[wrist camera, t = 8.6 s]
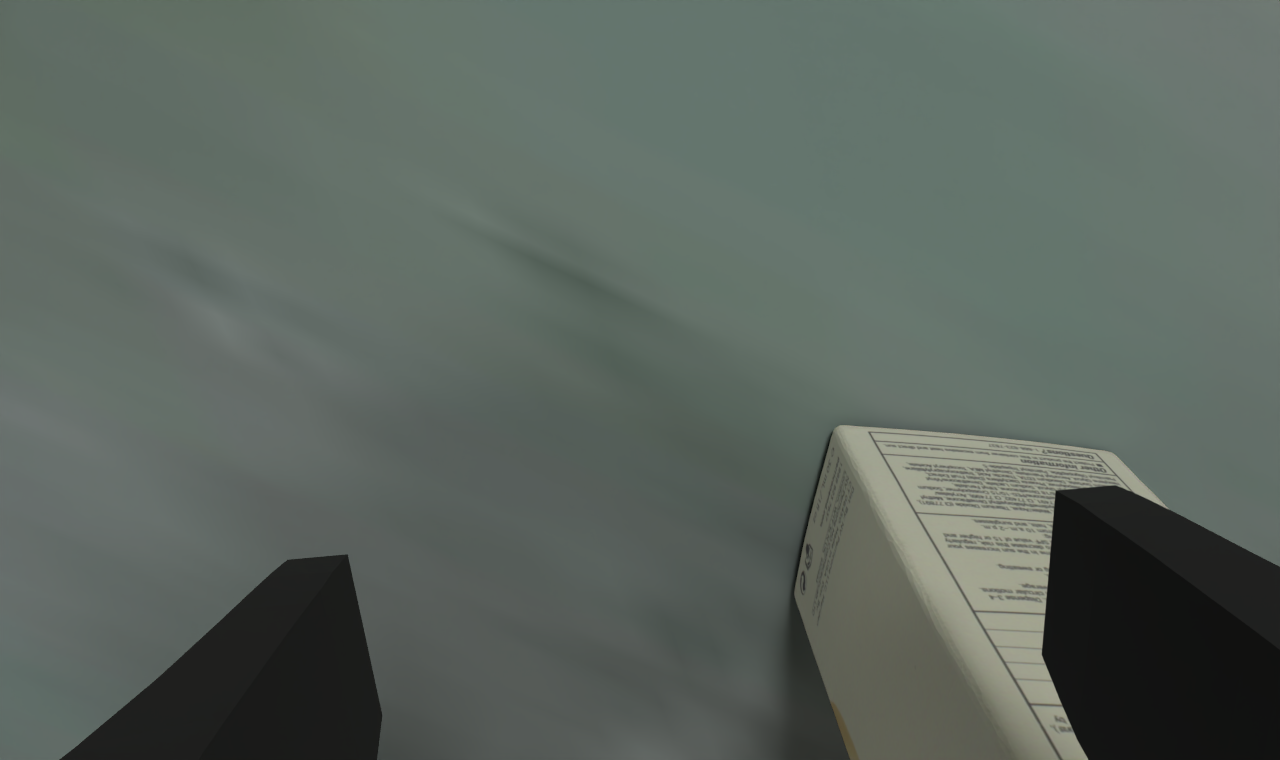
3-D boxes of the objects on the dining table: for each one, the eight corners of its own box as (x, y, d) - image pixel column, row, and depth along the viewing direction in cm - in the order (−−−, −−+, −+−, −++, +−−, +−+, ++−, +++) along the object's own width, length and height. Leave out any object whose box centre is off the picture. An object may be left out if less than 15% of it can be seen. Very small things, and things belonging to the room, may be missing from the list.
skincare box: (787, 595, 24) (964, 1214, 13) (830, 413, 22) (1077, 944, 11) (1071, 623, 25) (1476, 1236, 14) (1135, 449, 23) (1658, 984, 12)
